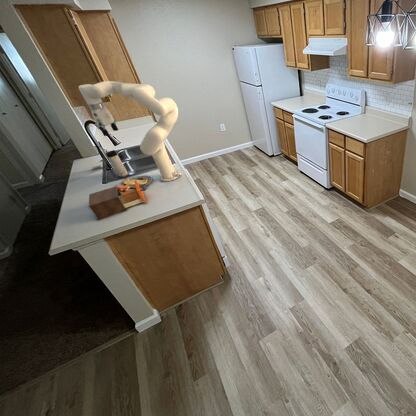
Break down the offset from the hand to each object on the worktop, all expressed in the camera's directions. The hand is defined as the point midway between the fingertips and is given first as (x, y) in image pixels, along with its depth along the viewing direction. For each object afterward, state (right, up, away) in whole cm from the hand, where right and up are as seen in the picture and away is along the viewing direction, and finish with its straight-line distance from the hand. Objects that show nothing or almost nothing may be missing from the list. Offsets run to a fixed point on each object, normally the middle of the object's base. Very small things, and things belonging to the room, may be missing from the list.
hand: (111, 133), depth 174 cm
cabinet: (+7, -50, -8) cm, 51 cm away
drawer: (+18, -45, -3) cm, 48 cm away
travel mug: (-15, -25, +30) cm, 41 cm away
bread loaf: (+17, -44, -4) cm, 47 cm away
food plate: (+4, -35, +14) cm, 38 cm away
